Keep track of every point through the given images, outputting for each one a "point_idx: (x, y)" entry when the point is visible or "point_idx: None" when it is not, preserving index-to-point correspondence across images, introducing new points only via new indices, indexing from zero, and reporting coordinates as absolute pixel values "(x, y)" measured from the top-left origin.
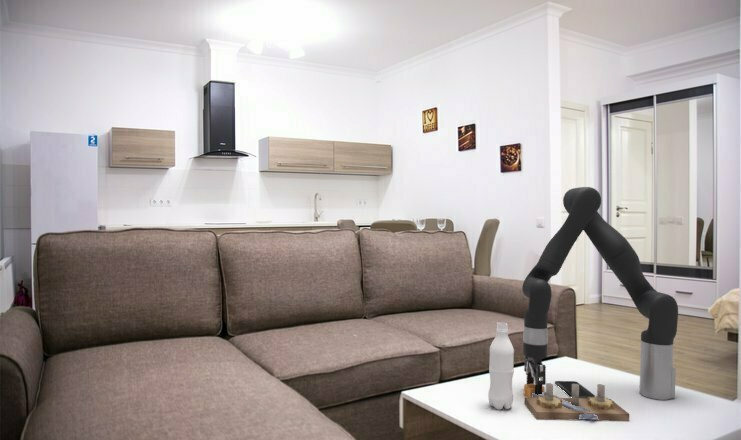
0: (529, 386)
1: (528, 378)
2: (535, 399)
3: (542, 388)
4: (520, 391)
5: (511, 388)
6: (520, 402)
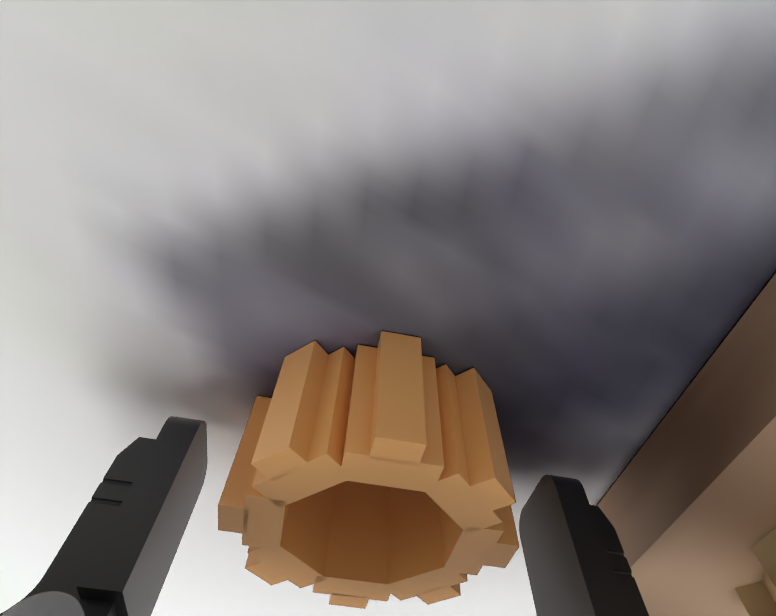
0: (298, 534)
1: (151, 600)
2: (680, 591)
3: (478, 491)
4: (215, 476)
5: None
6: (514, 568)
